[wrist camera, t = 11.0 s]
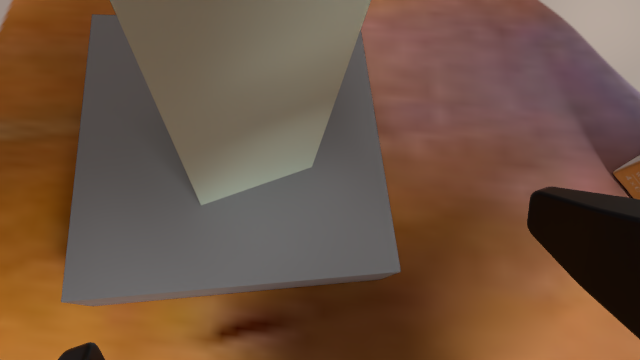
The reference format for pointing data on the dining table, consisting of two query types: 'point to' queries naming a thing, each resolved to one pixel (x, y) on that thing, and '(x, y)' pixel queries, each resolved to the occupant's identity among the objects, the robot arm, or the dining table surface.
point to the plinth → (220, 215)
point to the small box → (630, 176)
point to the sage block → (242, 81)
